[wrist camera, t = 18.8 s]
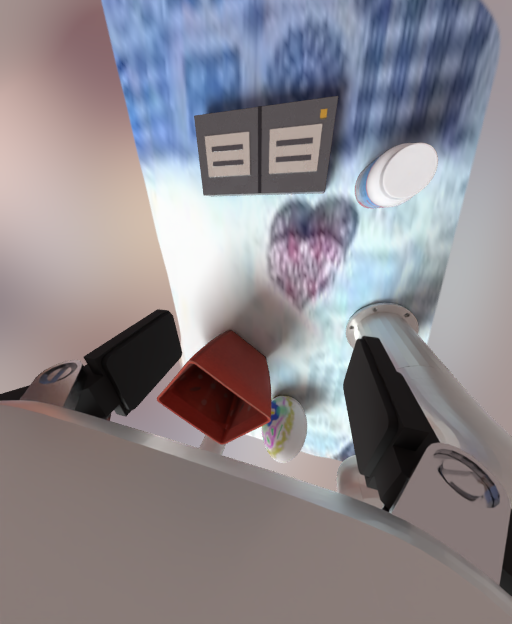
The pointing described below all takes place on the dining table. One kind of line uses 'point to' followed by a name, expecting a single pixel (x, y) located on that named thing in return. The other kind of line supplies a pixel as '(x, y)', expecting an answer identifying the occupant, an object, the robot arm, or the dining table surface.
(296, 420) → the decorative egg
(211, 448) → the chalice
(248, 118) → the panel
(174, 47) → the dining table surface
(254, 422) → the plant pot
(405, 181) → the pill bottle
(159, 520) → the robot arm
